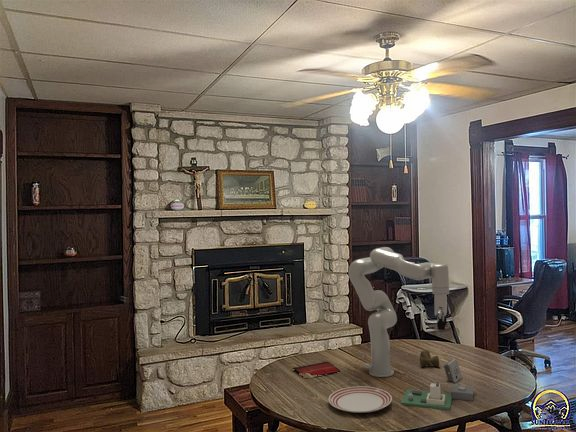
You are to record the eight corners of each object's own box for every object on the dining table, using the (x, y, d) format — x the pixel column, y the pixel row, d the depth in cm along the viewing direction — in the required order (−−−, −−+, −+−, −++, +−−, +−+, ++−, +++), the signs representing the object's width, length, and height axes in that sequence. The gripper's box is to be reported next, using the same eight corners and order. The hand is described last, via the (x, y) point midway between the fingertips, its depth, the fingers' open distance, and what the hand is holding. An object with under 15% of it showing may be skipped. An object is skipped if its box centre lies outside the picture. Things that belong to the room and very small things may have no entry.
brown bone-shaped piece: (434, 359, 271) (441, 370, 251) (416, 360, 272) (422, 371, 252) (433, 348, 271) (440, 359, 251) (415, 349, 272) (421, 359, 252)
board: (401, 404, 211) (400, 396, 211) (406, 391, 226) (406, 384, 225) (450, 410, 203) (449, 401, 203) (452, 395, 218) (452, 388, 218)
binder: (292, 367, 262) (327, 360, 270) (293, 371, 262) (327, 365, 270) (305, 377, 247) (342, 370, 256) (306, 381, 247) (342, 374, 256)
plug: (430, 402, 209) (429, 384, 209) (431, 399, 213) (430, 381, 213) (440, 403, 208) (439, 385, 207) (441, 400, 211) (440, 382, 211)
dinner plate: (349, 423, 195) (348, 415, 195) (317, 400, 221) (317, 393, 220) (405, 409, 206) (405, 401, 206) (369, 388, 231) (369, 381, 231)
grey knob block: (450, 398, 215) (450, 390, 215) (452, 391, 223) (451, 383, 223) (472, 400, 211) (472, 392, 211) (473, 393, 220) (473, 385, 220)
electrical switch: (455, 383, 233) (452, 363, 233) (445, 382, 236) (442, 363, 236) (462, 377, 240) (459, 358, 240) (452, 376, 243) (449, 358, 244)
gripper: (434, 287, 237) (435, 322, 237) (430, 293, 221) (431, 331, 221) (450, 287, 234) (452, 323, 234) (447, 293, 218) (449, 332, 218)
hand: (442, 327), depth 227 cm, fingers open, 9 cm apart
